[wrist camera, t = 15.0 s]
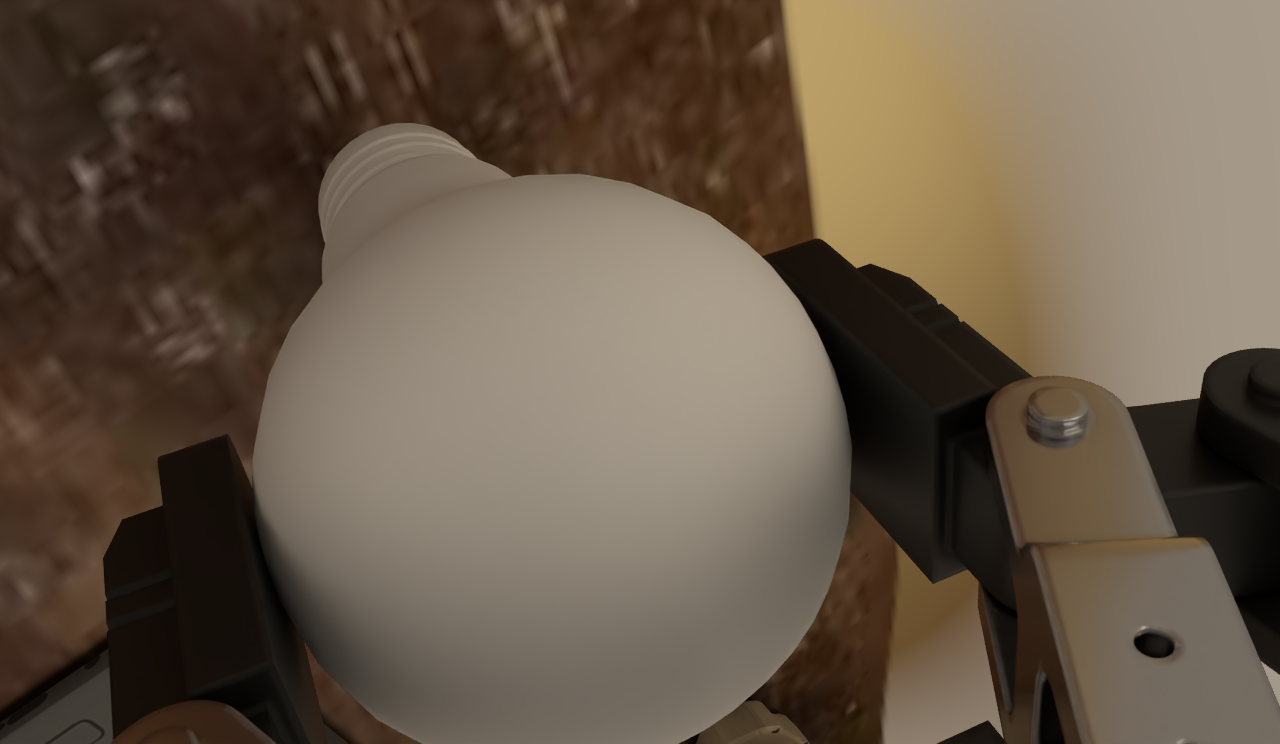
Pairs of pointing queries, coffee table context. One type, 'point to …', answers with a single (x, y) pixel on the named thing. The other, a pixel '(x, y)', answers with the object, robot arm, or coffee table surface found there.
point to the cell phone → (75, 711)
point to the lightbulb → (544, 454)
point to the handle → (752, 727)
